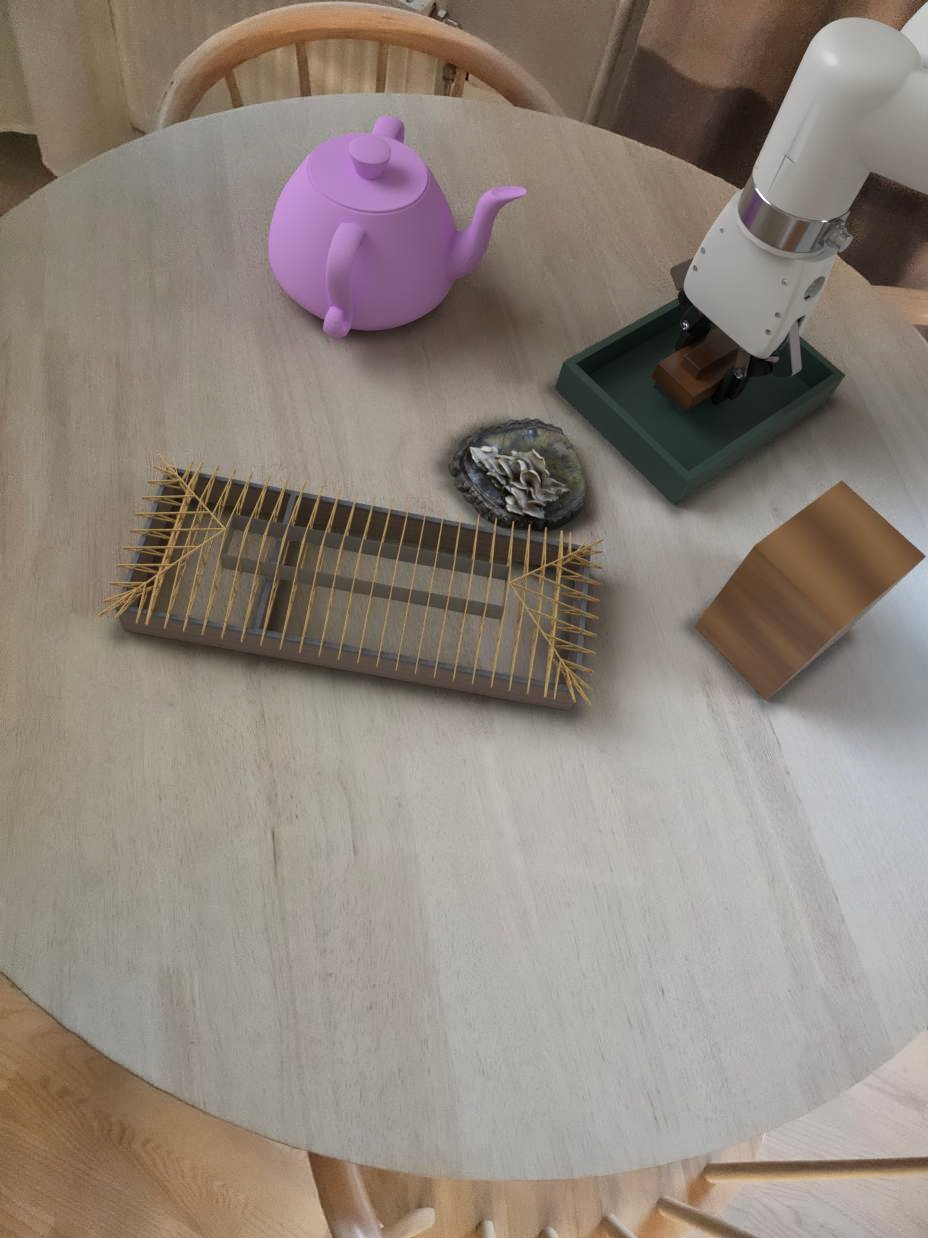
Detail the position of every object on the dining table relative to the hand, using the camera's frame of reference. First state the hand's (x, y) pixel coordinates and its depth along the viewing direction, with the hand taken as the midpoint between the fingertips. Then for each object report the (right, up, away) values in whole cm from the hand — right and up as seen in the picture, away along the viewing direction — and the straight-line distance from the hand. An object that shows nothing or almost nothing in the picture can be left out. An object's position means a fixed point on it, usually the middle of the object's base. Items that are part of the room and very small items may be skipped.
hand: (704, 377), depth 86 cm
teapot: (-29, +9, +3) cm, 31 cm away
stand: (+3, -23, -9) cm, 25 cm away
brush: (0, 0, 0) cm, 0 cm away
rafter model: (-29, -20, -13) cm, 38 cm away
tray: (0, -1, +2) cm, 2 cm away
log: (-17, -10, -5) cm, 20 cm away
